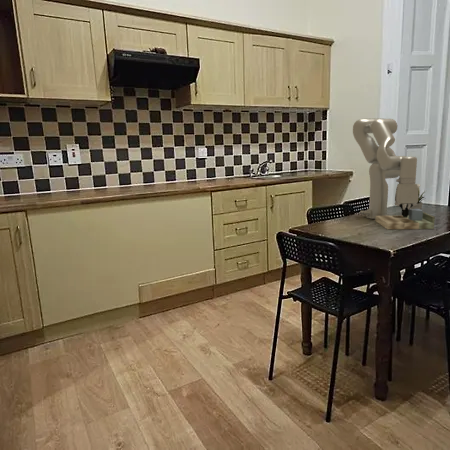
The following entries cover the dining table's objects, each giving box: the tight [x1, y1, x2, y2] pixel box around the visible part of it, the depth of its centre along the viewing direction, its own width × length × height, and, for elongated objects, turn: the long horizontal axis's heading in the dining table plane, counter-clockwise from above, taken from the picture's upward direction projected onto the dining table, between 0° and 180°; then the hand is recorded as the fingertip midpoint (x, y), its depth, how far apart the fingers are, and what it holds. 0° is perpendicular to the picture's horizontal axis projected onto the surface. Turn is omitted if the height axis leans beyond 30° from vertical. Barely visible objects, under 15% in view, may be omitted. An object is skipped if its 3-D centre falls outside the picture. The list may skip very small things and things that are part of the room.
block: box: [408, 209, 424, 220], centre depth 190 cm, size 5×5×5 cm
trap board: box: [374, 211, 436, 230], centre depth 192 cm, size 22×20×6 cm
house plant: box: [410, 187, 426, 210], centre depth 222 cm, size 14×14×16 cm
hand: (404, 216), depth 191 cm, fingers closed
